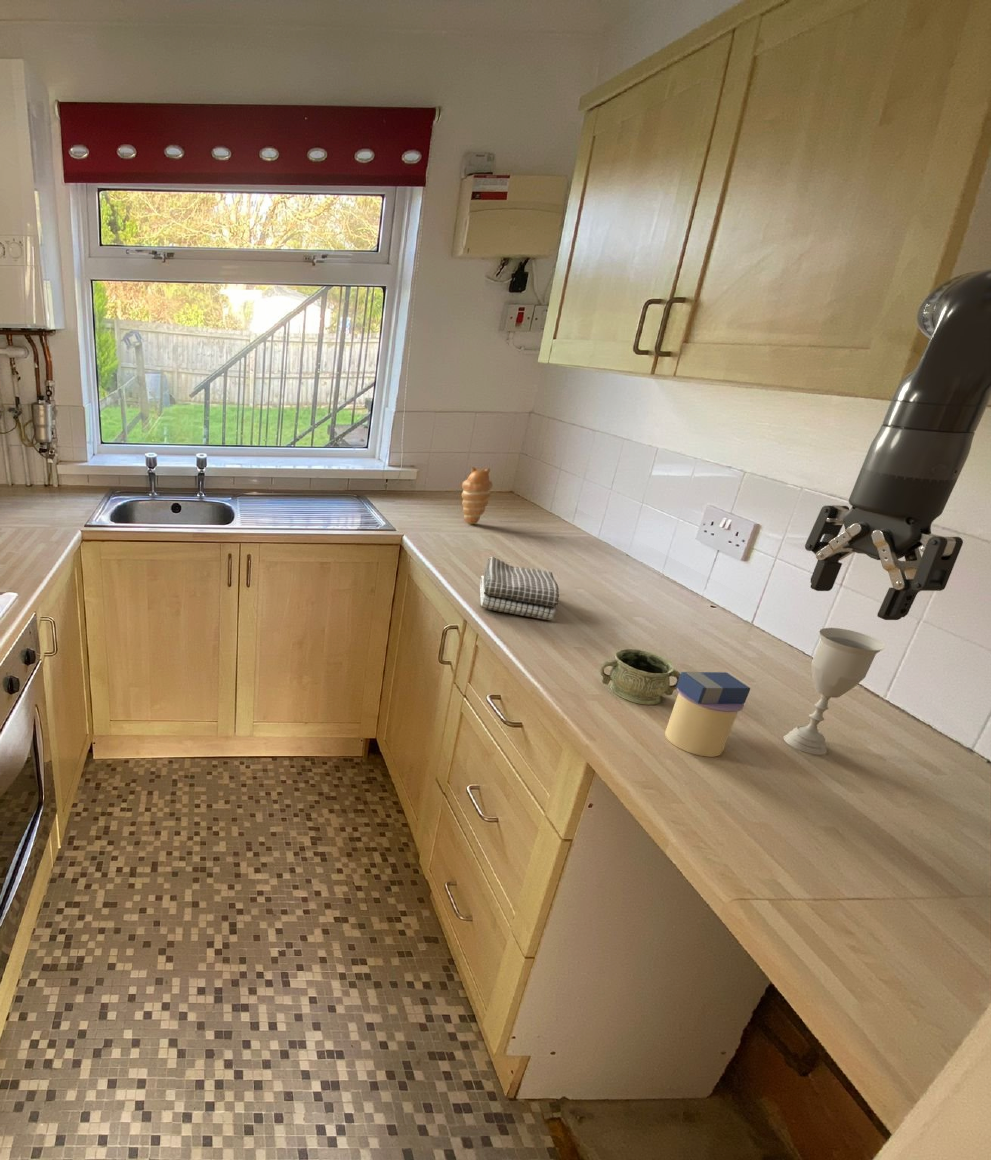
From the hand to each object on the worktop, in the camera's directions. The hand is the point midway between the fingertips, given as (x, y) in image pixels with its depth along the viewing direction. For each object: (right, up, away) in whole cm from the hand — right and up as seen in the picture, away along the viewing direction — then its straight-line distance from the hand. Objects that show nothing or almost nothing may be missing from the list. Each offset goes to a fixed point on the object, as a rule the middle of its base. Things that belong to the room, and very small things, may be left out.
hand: (852, 603), depth 76 cm
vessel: (-4, -17, +33) cm, 38 cm away
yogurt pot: (-4, -22, +20) cm, 30 cm away
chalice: (+13, -22, +20) cm, 33 cm away
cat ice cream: (+5, +20, +126) cm, 128 cm away
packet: (-4, -14, +17) cm, 23 cm away
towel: (-9, -3, +68) cm, 69 cm away
